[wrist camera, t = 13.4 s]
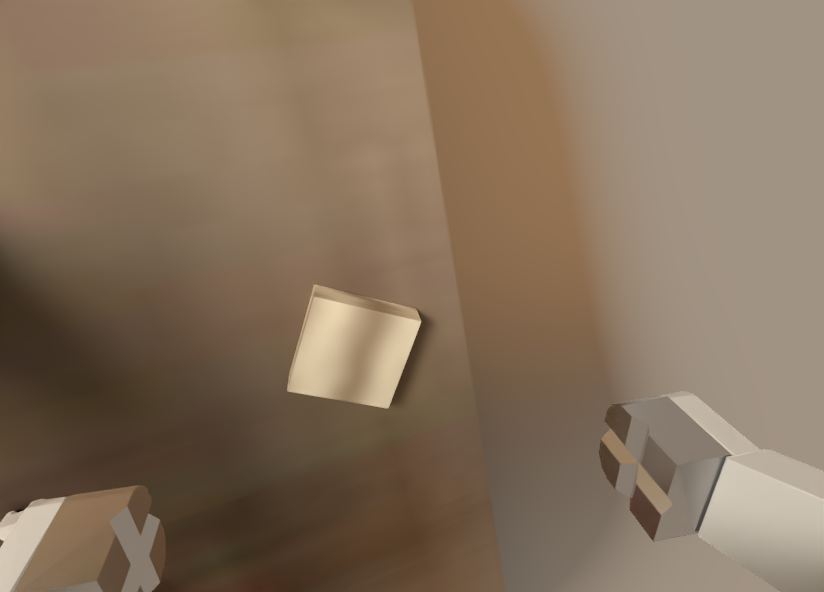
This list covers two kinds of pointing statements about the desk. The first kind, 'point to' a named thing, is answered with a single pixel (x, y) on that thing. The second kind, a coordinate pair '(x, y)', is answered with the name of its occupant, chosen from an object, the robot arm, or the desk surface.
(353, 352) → the stand
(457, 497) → the desk surface
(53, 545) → the robot arm
